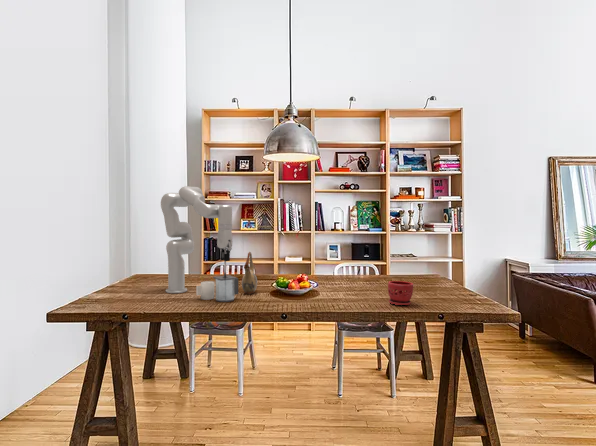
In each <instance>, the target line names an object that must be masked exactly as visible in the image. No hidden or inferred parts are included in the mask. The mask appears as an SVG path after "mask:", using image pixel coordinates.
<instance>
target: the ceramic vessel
mask: <svg viewBox="0 0 596 446" xmlns="http://www.w3.org/2000/svg"><path fill="white" fill-rule="evenodd" d="M253 261H254V260H253V256H252V252H251V251H249V252H248V253H247V257H246V261H245V263H244V266H243V269H244V271H245V272H244V274H243V276H242V279H241V287H242V290H243V292H244V293H245V294H247V295H252V294H254V293H255V291H256V290H257V287H258V278H257V276H256V274H255V267H256V264H255V263H254V262H253Z"/></svg>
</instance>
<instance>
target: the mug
mask: <svg viewBox="0 0 596 446" xmlns="http://www.w3.org/2000/svg"><path fill="white" fill-rule="evenodd" d="M195 288H196V289H195V291H196V294H195V295H196V296H200V300H205V301H208V300H213V299H215V281H211V280H206V281H201V282H200V285H196V287H195Z"/></svg>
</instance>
